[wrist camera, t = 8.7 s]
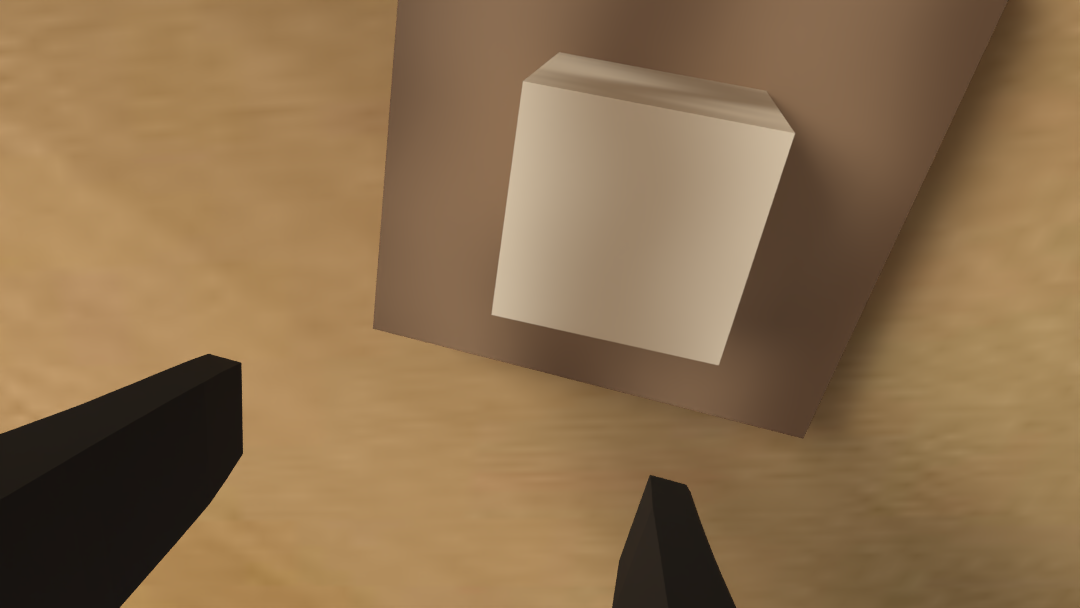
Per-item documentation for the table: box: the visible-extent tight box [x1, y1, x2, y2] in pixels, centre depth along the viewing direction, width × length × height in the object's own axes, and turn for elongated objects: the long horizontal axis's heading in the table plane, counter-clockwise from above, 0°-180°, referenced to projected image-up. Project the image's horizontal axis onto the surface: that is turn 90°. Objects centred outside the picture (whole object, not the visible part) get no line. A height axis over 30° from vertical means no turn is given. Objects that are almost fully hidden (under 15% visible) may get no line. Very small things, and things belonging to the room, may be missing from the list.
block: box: [491, 52, 795, 365], centre depth 14 cm, size 4×4×4 cm
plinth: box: [373, 0, 1008, 438], centre depth 17 cm, size 12×12×2 cm
